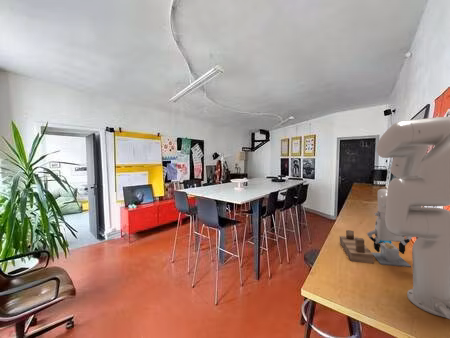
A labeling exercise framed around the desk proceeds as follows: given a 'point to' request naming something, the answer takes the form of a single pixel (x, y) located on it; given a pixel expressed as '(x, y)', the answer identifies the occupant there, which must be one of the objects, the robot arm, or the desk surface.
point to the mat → (384, 262)
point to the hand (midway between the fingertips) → (389, 251)
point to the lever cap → (389, 252)
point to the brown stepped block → (356, 248)
